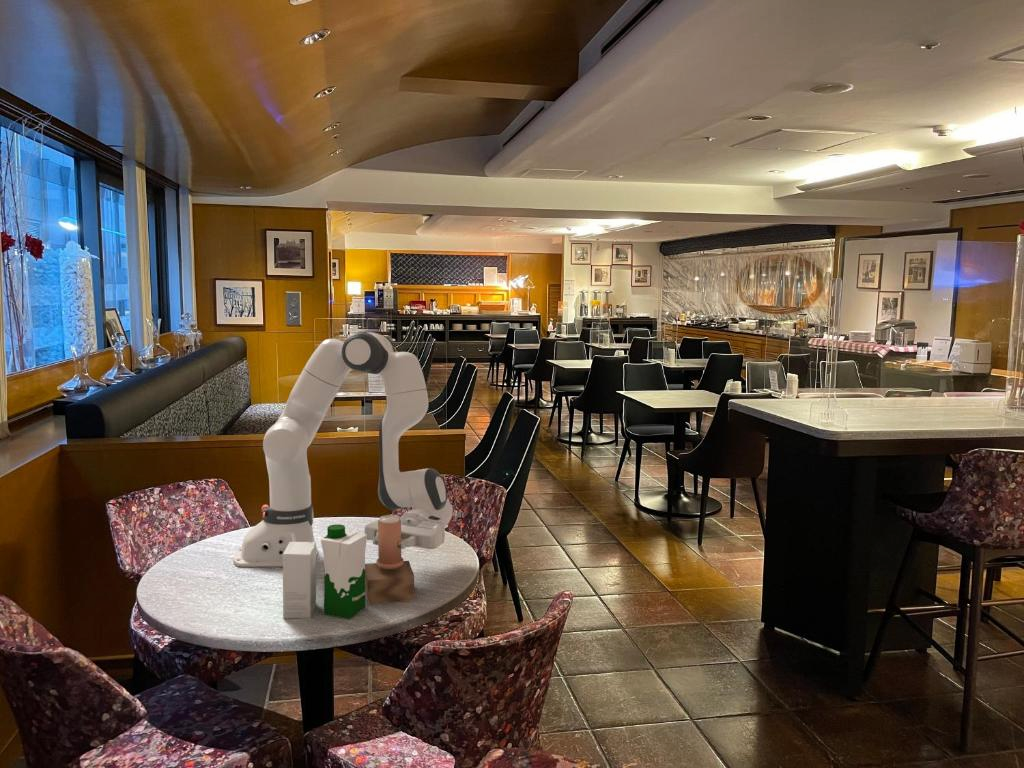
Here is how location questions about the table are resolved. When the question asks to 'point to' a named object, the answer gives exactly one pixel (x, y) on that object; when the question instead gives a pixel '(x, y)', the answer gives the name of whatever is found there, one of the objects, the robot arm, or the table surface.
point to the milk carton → (344, 572)
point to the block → (389, 583)
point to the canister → (389, 542)
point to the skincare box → (299, 580)
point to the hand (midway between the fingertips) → (387, 543)
